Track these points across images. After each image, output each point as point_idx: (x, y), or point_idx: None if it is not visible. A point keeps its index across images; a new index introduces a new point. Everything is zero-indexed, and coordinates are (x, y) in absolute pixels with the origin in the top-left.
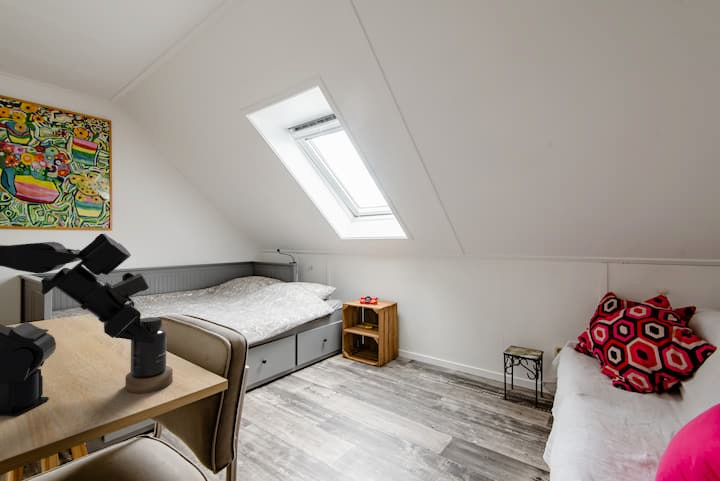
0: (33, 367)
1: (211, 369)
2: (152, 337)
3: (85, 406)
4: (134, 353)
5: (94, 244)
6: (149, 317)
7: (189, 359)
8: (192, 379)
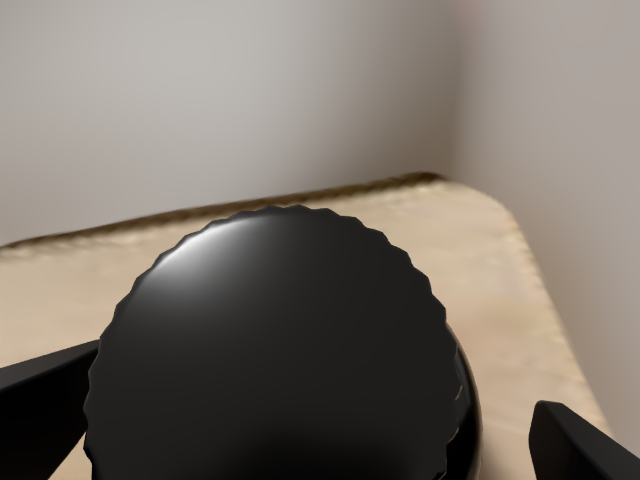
0: None
1: (349, 186)
2: (599, 437)
3: None
4: None
5: None
6: (121, 317)
7: (178, 214)
8: None
